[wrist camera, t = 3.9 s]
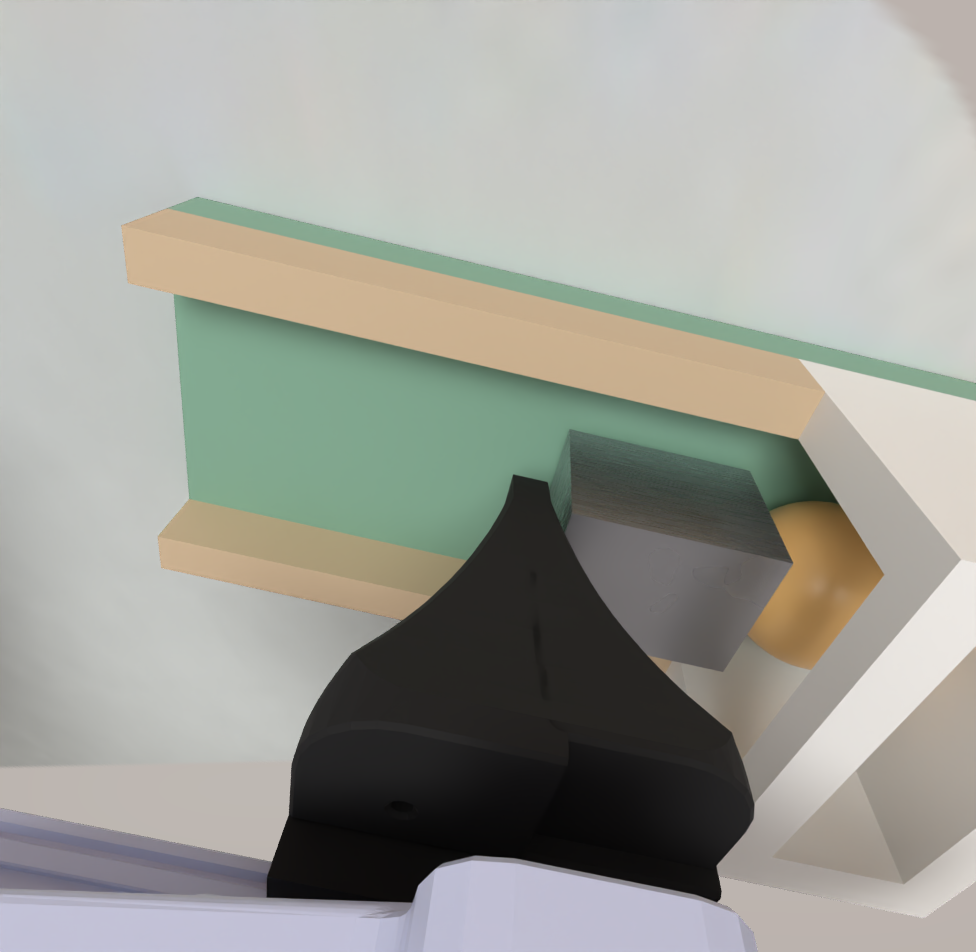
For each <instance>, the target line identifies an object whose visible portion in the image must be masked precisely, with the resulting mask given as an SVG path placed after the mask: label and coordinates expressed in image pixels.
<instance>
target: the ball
mask: <svg viewBox="0 0 976 952" xmlns="http://www.w3.org/2000/svg"><path fill="white" fill-rule="evenodd" d="M769 512H770V515H771V517H772V519H773V521H774V523H775V525H776V527H777V529H778V532H779V534H780V536H781V538H782V540H783V542H784V544H785V546H786V549H787V551H788V553H789V555H790V557H791V559H792V561H793V565H792V567H791V568H790V570H789V571H788V573H787V574H786V576H785V577H784V579H783V580H782V582H781V583H780V585H779V587H778V588H777V590H776V591H775V593H774V594H773V596H772V597H771V599H770V600H769V602H768V604H767V605H766V607H765V608H764V610H763V611H762V613H761V614H760V616H759V617H758V619H757V620H756V622H755V624H754V625H753V627H752V628H751V630H750V631H749V633H748V634H747V635H748V636H749V637H750V638H751V639H752V640H753V641H754V642H755V643H756V644H757V645H758V646H759V647H761V648H762V649H763V650H765V651H766V652H767V653H769V654H770V655H772V656H774V657H775V658H777V659H779V660H781V661H783V662H785V663H788V664H790V665H793V666H796V667H800V668H804V669H808V670H812V668H813V667H814V666H815V664H816V663H817V662H818V660H819V659H820V658H821V657H822V655H823V654H824V653H825V651H826V650H827V649H828V647H829V646H830V645H831V644H832V642H833V641H834V640H835V638H836V637H837V636H838V634H839V633H840V632H841V631H842V629H843V628H844V627H845V625H846V624H847V623H848V621H849V620H850V619H851V618H852V616H853V615H854V614H855V612H856V611H857V610H858V608H859V607H860V606H861V605H862V603H863V602H864V601H865V599H866V598H867V597H868V596H869V594H870V593H871V592H872V590H873V589H874V588H875V586H876V585H877V584H878V583H879V581H880V580H881V579H882V577H883V576H884V573H883V572H882V570H881V568H880V567H879V565H878V564H877V562H876V561H875V559H874V557H873V556H872V554H871V553H870V551H869V550H868V548H867V546H866V545H865V543H864V542H863V540H862V539H861V537H860V535H859V534H858V532H857V531H856V529H855V528H854V526H853V524H852V523H851V521H850V520H849V518H848V517H847V515H846V513H845V512H844V510H843V509H842V507H841V506H840V504H836V503H831V502H823V501H803V502H795V503H791V504H787V505H783V506H780V507H778V508H775V509H773V510H771V511H769Z"/></svg>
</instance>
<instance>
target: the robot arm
mask: <svg viewBox="0 0 976 952" xmlns="http://www.w3.org/2000/svg"><path fill="white" fill-rule="evenodd" d="M754 807H755V804H754V800H753V796H752V792H751V789H750V785H749V781H748V777H747V774H746V771H745V767H744V764H743V761H742V758H741V756H740V753H739V751H738V748H737V746H736V743H735V740H734V737H733V734H732V732H731V731H730V730H728V729H727V728H726V727H725V726H724V725H722V724H721V723H720V722H719V721H718V720H716V719H715V718H714V717H713V716H712V715H711V714H709V713H708V712H707V711H706V710H705V709H703V708H702V707H701V706H700V705H699V704H697V703H696V702H695V701H694V700H693V699H692V698H690V697H689V696H688V695H687V694H686V693H685V692H684V691H683V690H681V689H680V688H679V687H678V686H677V685H676V684H675V683H674V682H673V681H672V680H671V679H670V678H669V677H668V676H667V675H666V674H665V673H664V672H663V671H662V670H661V669H660V668H659V667H658V666H657V665H656V664H655V663H654V662H653V661H652V660H651V659H650V658H649V657H648V656H647V655H646V653H645V652H644V651H643V650H642V649H641V648H640V647H639V645H638V644H637V643H636V642H635V641H634V640H633V639H632V637H631V636H630V635H629V634H628V633H627V632H626V630H625V629H624V628H623V627H622V626H621V624H620V623H619V622H618V620H617V619H616V618H615V617H614V615H613V614H612V613H611V611H610V610H609V608H608V607H607V606H606V604H605V603H604V601H603V600H602V599H601V597H600V596H599V594H598V593H597V591H596V590H595V588H594V586H593V585H592V583H591V582H590V580H589V578H588V576H587V575H586V573H585V571H584V570H583V568H582V566H581V564H580V562H579V561H578V559H577V557H576V555H575V553H574V551H573V549H572V547H571V545H570V543H569V541H568V539H567V537H566V535H565V533H564V531H563V528H562V526H561V524H560V522H559V519H558V517H557V515H556V512H555V510H554V507H553V505H552V502H551V498H550V490H549V486H548V482H545V481H541V480H537V479H532V478H528V477H523V476H519V475H514V474H513V476H512V480H511V483H510V487H509V491H508V494H507V498H506V501H505V504H504V506H503V508H502V510H501V512H500V514H499V515H498V517H497V519H496V520H495V522H494V524H493V526H492V527H491V529H490V530H489V532H488V533H487V535H486V536H485V537H484V539H483V540H482V541H481V543H480V544H479V546H478V547H477V548H476V550H475V551H474V552H473V554H472V555H471V556H470V557H469V558H468V560H467V561H466V562H465V563H464V564H463V565H462V567H461V568H460V569H459V570H458V571H457V572H456V573H455V574H454V575H453V576H452V577H451V579H450V580H449V581H448V582H447V583H445V584H444V585H443V586H442V587H441V588H440V589H439V590H438V591H437V592H436V593H435V594H434V595H433V596H432V597H431V598H430V599H428V600H427V601H426V602H425V603H424V604H423V605H421V606H420V607H419V608H418V609H416V610H415V611H414V612H412V613H411V614H410V615H409V616H407V617H406V618H405V619H403V620H402V621H401V622H399V623H398V624H397V625H395V626H394V627H393V628H391V629H390V630H388V631H387V632H385V633H384V634H382V635H381V636H379V637H377V638H376V639H374V640H373V641H371V642H369V643H368V644H366V645H364V646H363V647H361V648H360V649H358V650H356V651H355V652H353V653H351V655H350V656H349V657H348V659H347V660H346V661H345V662H344V664H343V665H342V666H341V668H340V669H339V670H338V672H337V673H336V674H335V676H334V677H333V678H332V680H331V681H330V683H329V684H328V686H327V687H326V688H325V690H324V691H323V693H322V695H321V696H320V698H319V699H318V701H317V703H316V705H315V706H314V708H313V710H312V712H311V714H310V716H309V718H308V720H307V722H306V724H305V726H304V729H303V732H302V735H301V737H300V740H299V743H298V746H297V749H296V752H295V755H294V758H293V762H292V768H291V787H290V805H289V816H288V819H287V821H286V824H285V827H284V830H283V833H282V836H281V839H280V841H279V844H278V847H277V850H276V852H275V856H274V858H273V861H272V862H270V861H265V860H259V859H255V858H250V857H245V856H240V855H235V854H230V853H225V852H220V851H215V850H210V849H205V848H199V847H195V846H189V845H184V844H179V843H174V842H169V841H164V840H159V839H154V838H149V837H144V836H139V835H134V834H129V833H124V832H119V831H114V830H109V829H104V828H99V827H94V826H89V825H84V824H79V823H73V822H68V821H63V820H58V819H53V818H48V817H43V816H38V815H33V814H28V813H23V812H18V811H13V810H8V809H3V808H0V952H758V950H757V946H756V941H755V937H754V933H753V931H752V930H751V929H750V928H749V927H748V926H747V924H746V923H745V922H744V921H743V920H742V919H741V918H740V916H739V915H738V914H737V913H736V912H734V911H733V910H732V909H731V908H729V907H728V906H725V905H722V904H720V903H717V902H718V901H719V900H720V898H721V886H720V881H719V876H718V871H717V865H718V864H719V862H720V861H721V860H722V859H723V858H724V857H725V856H726V854H727V853H728V852H729V851H730V850H731V849H732V848H733V847H734V845H735V844H736V843H737V842H738V841H739V840H740V839H741V837H742V836H743V835H744V834H745V833H746V831H747V830H748V828H749V826H750V824H751V823H752V821H753V819H754Z"/></svg>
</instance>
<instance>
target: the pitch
mask: <svg viewBox="0 0 976 952" xmlns="http://www.w3.org/2000/svg"><path fill="white" fill-rule="evenodd" d="M121 227H122V235H123V244H124V252H125V261H126V269H127V278H128V283H130V284H134V285H138V286H143V287H147V288H151V289H155V290H160V291H164V292H168V293H173V294H174V304H175V317H176V330H177V343H178V357H179V370H180V383H181V396H182V409H183V422H184V435H185V448H186V461H187V474H188V488H189V500H188V501H187V502H186V504H185V505H184V506H183V507H182V508H181V510H180V511H179V512H178V513H177V514H176V515H175V517H174V518H173V519H172V520H171V521H170V523H169V524H168V525H167V526H166V527H165V529H164V530H163V531H162V532H161V533H160V534H159V536H158V543H159V552H160V560H161V568H164V569H169V570H173V571H178V572H183V573H187V574H192V575H196V576H201V577H206V578H210V579H215V580H219V581H224V582H229V583H233V584H238V585H243V586H247V587H252V588H256V589H261V590H266V591H270V592H275V593H279V594H284V595H289V596H293V597H298V598H302V599H307V600H312V601H316V602H321V603H326V604H330V605H335V606H339V607H344V608H349V609H353V610H358V611H362V612H367V613H372V614H376V615H381V616H385V617H390V618H395V619H399V620H403V619H405V618H406V617H407V616H409V615H410V614H411V613H412V612H414V611H415V610H416V609H418V608H419V607H420V606H421V605H423V604H424V603H425V602H426V601H427V600H428V599H430V598H431V597H432V596H433V595H434V594H435V593H436V592H437V591H438V590H439V589H440V588H441V587H442V586H443V585H444V584H445V583H447V582H448V581H449V580H450V579H451V577H452V576H453V575H454V574H455V573H456V572H457V571H458V570H459V569H460V568H461V567H462V565H463V564H464V563H465V562H466V561H467V560H468V558H469V557H470V556H471V555H472V554H473V552H474V551H475V550H476V548H477V547H478V546H479V544H480V543H481V541H482V540H483V539H484V537H485V536H486V535H487V533H488V532H489V530H490V529H491V527H492V526H493V524H494V522H495V520H496V519H497V517H498V515H499V514H500V512H501V510H502V508H503V506H504V504H505V501H506V498H507V494H508V491H509V487H510V483H511V480H512V476H513V474H514V475H519V476H523V477H528V478H532V479H537V480H541V481H545V482H548V486H549V490H550V487H551V484H552V481H553V478H554V475H555V472H556V469H557V466H558V463H559V460H560V457H561V454H562V450H563V447H564V444H565V441H566V438H567V435H568V432H569V429H571V430H575V431H580V432H584V433H588V434H593V435H597V436H601V437H606V438H610V439H614V440H619V441H623V442H627V443H632V444H636V445H640V446H645V447H649V448H653V449H658V450H662V451H666V452H671V453H675V454H679V455H684V456H688V457H692V458H697V459H701V460H705V461H710V462H714V463H718V464H723V465H727V466H731V467H736V468H740V469H744V470H749V471H750V472H751V474H752V476H753V478H754V480H755V483H756V485H757V487H758V489H759V491H760V493H761V495H762V497H763V500H764V502H765V504H766V506H767V508H768V510H769V511H771V510H773V509H775V508H778V507H780V506H783V505H787V504H791V503H795V502H803V501H823V502H831V503H836V504H840V506H841V507H842V509H843V510H844V512H845V513H846V515H847V517H848V518H849V520H850V521H851V523H852V524H853V526H854V528H855V529H856V531H857V532H858V534H859V535H860V537H861V539H862V540H863V542H864V543H865V545H866V546H867V548H868V550H869V551H870V553H871V554H872V556H873V557H874V559H875V561H876V562H877V564H878V565H879V567H880V568H881V570H882V572H883V573H884V576H883V577H882V579H881V580H880V581H879V583H878V584H877V585H876V586H875V588H874V589H873V590H872V592H871V593H870V594H869V596H868V597H867V598H866V599H865V601H864V602H863V603H862V605H861V606H860V607H859V608H858V610H857V611H856V612H855V614H854V615H853V616H852V618H851V619H850V620H849V621H848V623H847V624H846V625H845V627H844V628H843V629H842V631H841V632H840V633H839V634H838V636H837V637H836V638H835V640H834V641H833V642H832V644H831V645H830V646H829V647H828V649H827V650H826V651H825V653H824V654H823V655H822V657H821V658H820V659H819V660H818V662H817V663H816V664H815V666H814V667H813V668H812V670H808V669H804V668H800V667H796V666H793V665H790V664H788V663H785V662H783V661H781V660H779V659H777V658H775V657H774V656H772V655H770V654H769V653H767V652H766V651H765V650H763V649H762V648H761V647H759V646H758V645H757V644H756V643H755V642H754V641H753V640H752V639H751V638H750V637H749V636H748V635H747V636H746V637H745V639H744V640H743V642H742V644H741V645H740V647H739V648H738V650H737V651H736V653H735V654H734V656H733V657H732V659H731V660H730V662H729V664H728V665H727V667H726V668H725V670H724V671H723V672H721V671H716V670H712V669H707V668H702V667H698V666H693V665H689V664H684V663H679V662H675V661H670V660H666V659H661V658H657V657H652V656H648V657H649V658H650V659H651V660H652V661H653V662H654V663H655V664H656V665H657V666H658V667H659V668H660V669H661V670H662V671H663V672H664V673H665V674H666V675H667V676H668V677H669V678H670V679H671V680H672V681H673V682H674V683H675V684H676V685H677V686H678V687H679V688H680V689H681V690H683V691H684V692H685V693H686V694H687V695H688V696H689V697H690V698H692V699H693V700H694V701H695V702H696V703H697V704H699V705H700V706H701V707H702V708H703V709H705V710H706V711H707V712H708V713H709V714H711V715H712V716H713V717H714V718H715V719H716V720H718V721H719V722H720V723H721V724H722V725H724V726H725V727H726V728H727V729H728V730H730V731H731V732H732V734H733V737H734V740H735V743H736V746H737V748H738V751H739V753H740V756H741V758H742V761H743V764H744V767H745V771H746V774H747V777H748V781H749V785H750V789H751V792H752V796H753V800H754V804H755V807H754V819H753V821H752V823H751V824H750V826H749V828H748V830H747V831H746V833H745V834H744V835H743V836H742V837H741V839H740V840H739V841H738V842H737V843H736V844H735V845H734V847H733V848H732V849H731V850H730V851H729V852H728V853H727V854H726V856H725V857H724V858H723V859H722V860H721V861H720V862H719V864H718V865H717V871H718V876H720V877H725V878H730V879H735V880H740V881H745V882H750V883H754V884H760V885H764V886H769V887H774V888H779V889H784V890H789V891H793V892H798V893H803V894H808V895H813V896H818V897H823V898H828V899H833V900H837V901H842V902H847V903H852V904H857V905H862V906H866V907H871V908H876V909H881V910H886V911H891V912H896V913H900V914H906V915H910V916H915V917H920V918H925V917H926V916H928V915H929V914H930V913H932V912H933V911H935V910H936V909H938V908H939V907H940V906H942V905H943V904H945V903H946V902H948V901H949V900H950V899H952V898H953V897H954V896H956V895H957V894H959V893H960V892H962V891H963V890H964V889H966V888H967V887H969V886H970V885H971V884H973V883H974V882H976V383H972V382H968V381H964V380H960V379H956V378H951V377H947V376H943V375H939V374H935V373H931V372H926V371H922V370H918V369H914V368H910V367H906V366H901V365H897V364H893V363H889V362H885V361H880V360H876V359H872V358H868V357H864V356H860V355H855V354H851V353H847V352H843V351H839V350H834V349H830V348H826V347H822V346H818V345H814V344H809V343H805V342H801V341H797V340H793V339H789V338H784V337H780V336H776V335H772V334H768V333H763V332H759V331H755V330H751V329H747V328H743V327H738V326H734V325H730V324H726V323H722V322H717V321H713V320H709V319H705V318H701V317H697V316H692V315H688V314H684V313H680V312H676V311H671V310H667V309H663V308H659V307H655V306H651V305H646V304H642V303H638V302H634V301H630V300H626V299H621V298H617V297H613V296H609V295H605V294H600V293H596V292H592V291H588V290H584V289H580V288H575V287H571V286H567V285H563V284H559V283H554V282H550V281H546V280H542V279H538V278H534V277H529V276H525V275H521V274H517V273H513V272H509V271H504V270H500V269H496V268H492V267H488V266H483V265H479V264H475V263H471V262H467V261H463V260H458V259H454V258H450V257H446V256H442V255H437V254H433V253H429V252H425V251H421V250H417V249H412V248H408V247H404V246H400V245H396V244H392V243H387V242H383V241H379V240H375V239H371V238H366V237H362V236H358V235H354V234H350V233H346V232H341V231H337V230H333V229H329V228H325V227H320V226H316V225H312V224H308V223H304V222H300V221H295V220H291V219H287V218H283V217H279V216H274V215H270V214H266V213H262V212H258V211H254V210H249V209H245V208H241V207H237V206H233V205H229V204H224V203H220V202H216V201H212V200H208V199H203V198H199V197H196V198H194V199H191V200H188V201H186V202H183V203H180V204H178V205H175V206H172V207H170V208H167V209H164V210H162V211H159V212H156V213H153V214H151V215H148V216H145V217H143V218H140V219H137V220H135V221H132V222H129V223H127V224H124V225H121Z"/></svg>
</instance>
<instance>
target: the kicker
mask: <svg viewBox="0 0 976 952" xmlns="http://www.w3.org/2000/svg"><path fill="white" fill-rule="evenodd" d="M550 498H551V502H552V505H553V507H554V510H555V512H556V515H557V517H558V519H559V522H560V524H561V526H562V528H563V531H564V533H565V535H566V537H567V539H568V541H569V543H570V545H571V547H572V549H573V551H574V553H575V555H576V557H577V559H578V561H579V562H580V564H581V566H582V568H583V570H584V571H585V573H586V575H587V576H588V578H589V580H590V582H591V583H592V585H593V586H594V588H595V590H596V591H597V593H598V594H599V596H600V597H601V599H602V600H603V601H604V603H605V604H606V606H607V607H608V608H609V610H610V611H611V613H612V614H613V615H614V617H615V618H616V619H617V620H618V622H619V623H620V624H621V626H622V627H623V628H624V629H625V630H626V632H627V633H628V634H629V635H630V636H631V637H632V639H633V640H634V641H635V642H636V643H637V644H638V645H639V647H640V648H641V649H642V650H643V651H644V652H645V653H646V655H647V656H652V657H657V658H661V659H666V660H670V661H675V662H679V663H684V664H689V665H693V666H698V667H702V668H707V669H712V670H716V671H721V672H723V671H724V670H725V668H726V667H727V665H728V664H729V662H730V660H731V659H732V657H733V656H734V654H735V653H736V651H737V650H738V648H739V647H740V645H741V644H742V642H743V640H744V639H745V637H746V636H747V634H748V633H749V631H750V630H751V628H752V627H753V625H754V624H755V622H756V620H757V619H758V617H759V616H760V614H761V613H762V611H763V610H764V608H765V607H766V605H767V604H768V602H769V600H770V599H771V597H772V596H773V594H774V593H775V591H776V590H777V588H778V587H779V585H780V583H781V582H782V580H783V579H784V577H785V576H786V574H787V573H788V571H789V570H790V568H791V567H792V565H793V561H792V559H791V557H790V555H789V553H788V551H787V549H786V546H785V544H784V542H783V540H782V538H781V536H780V534H779V532H778V529H777V527H776V525H775V523H774V521H773V519H772V517H771V515H770V512H769V510H768V508H767V506H766V504H765V502H764V500H763V497H762V495H761V493H760V491H759V489H758V487H757V485H756V483H755V480H754V478H753V476H752V474H751V472H750V471H749V470H744V469H740V468H736V467H731V466H727V465H723V464H718V463H714V462H710V461H705V460H701V459H697V458H692V457H688V456H684V455H679V454H675V453H671V452H666V451H662V450H658V449H653V448H649V447H645V446H640V445H636V444H632V443H627V442H623V441H619V440H614V439H610V438H606V437H601V436H597V435H593V434H588V433H584V432H580V431H575V430H571V429H569V432H568V435H567V438H566V441H565V444H564V447H563V450H562V454H561V457H560V460H559V463H558V466H557V469H556V472H555V475H554V478H553V481H552V484H551V487H550Z"/></svg>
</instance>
